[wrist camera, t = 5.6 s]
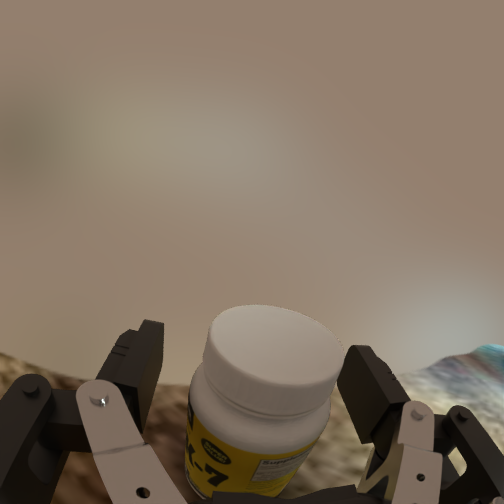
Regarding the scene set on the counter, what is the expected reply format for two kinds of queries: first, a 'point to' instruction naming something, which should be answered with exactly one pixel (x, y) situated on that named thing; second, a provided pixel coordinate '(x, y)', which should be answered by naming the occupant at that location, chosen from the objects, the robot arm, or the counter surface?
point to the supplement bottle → (258, 399)
